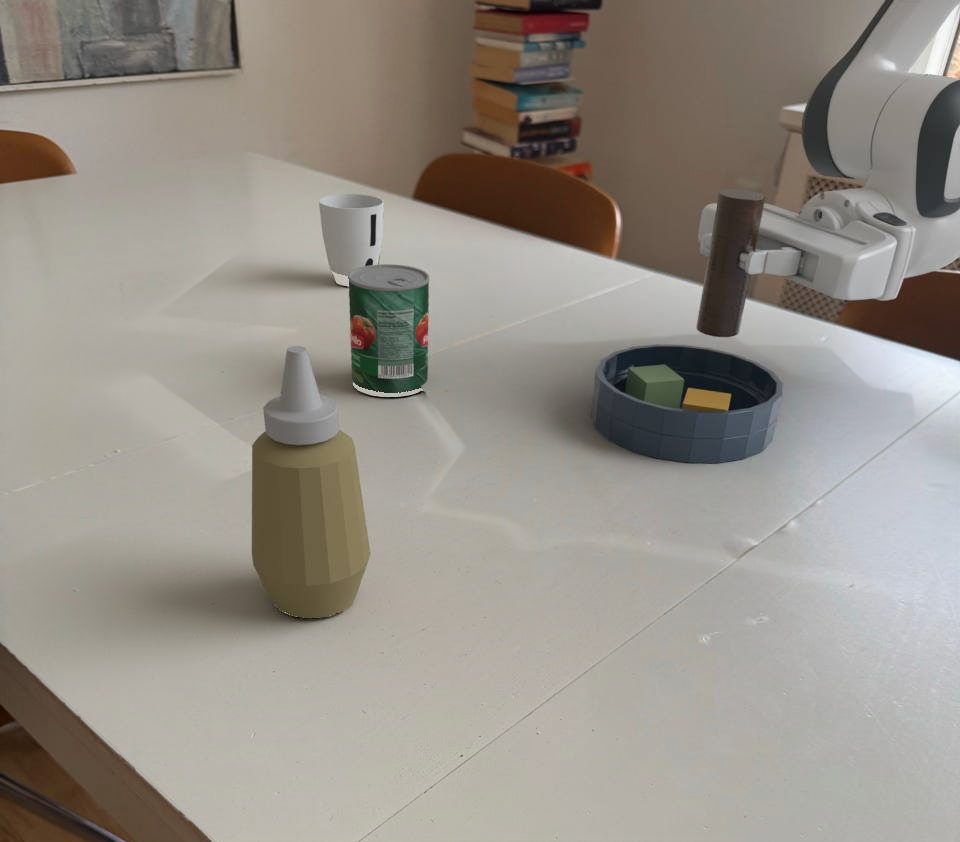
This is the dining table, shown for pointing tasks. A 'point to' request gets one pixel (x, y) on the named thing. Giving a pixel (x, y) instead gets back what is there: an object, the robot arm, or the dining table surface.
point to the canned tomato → (389, 327)
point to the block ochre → (706, 400)
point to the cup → (351, 230)
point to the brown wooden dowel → (729, 261)
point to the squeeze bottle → (307, 500)
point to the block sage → (655, 385)
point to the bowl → (682, 429)
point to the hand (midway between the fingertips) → (724, 254)
